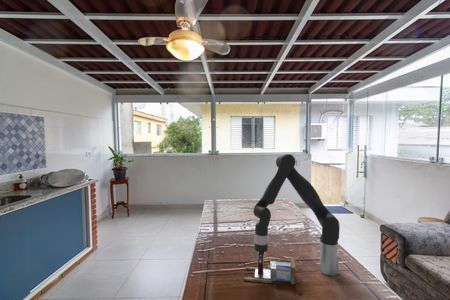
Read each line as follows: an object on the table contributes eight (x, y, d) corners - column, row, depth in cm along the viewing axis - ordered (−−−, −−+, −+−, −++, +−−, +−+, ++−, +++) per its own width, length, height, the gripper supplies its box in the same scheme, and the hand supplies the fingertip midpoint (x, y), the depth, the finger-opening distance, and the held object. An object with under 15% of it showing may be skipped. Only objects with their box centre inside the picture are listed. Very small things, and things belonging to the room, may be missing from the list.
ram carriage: (275, 272, 138) (275, 256, 138) (276, 281, 130) (276, 264, 129) (255, 270, 140) (255, 254, 140) (254, 279, 132) (254, 262, 131)
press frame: (293, 272, 138) (293, 257, 137) (295, 285, 126) (295, 268, 126) (246, 268, 143) (246, 253, 142) (244, 280, 131) (243, 264, 131)
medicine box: (276, 280, 130) (276, 265, 130) (275, 276, 135) (275, 261, 134) (291, 282, 129) (291, 266, 129) (290, 277, 133) (290, 262, 133)
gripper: (267, 247, 127) (267, 279, 128) (268, 237, 141) (267, 265, 142) (253, 246, 128) (252, 277, 129) (255, 235, 142) (254, 264, 143)
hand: (260, 271), depth 135 cm, fingers closed on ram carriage, 3 cm apart
